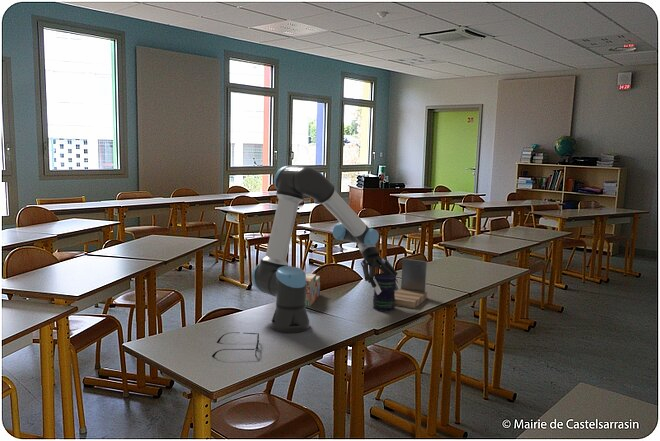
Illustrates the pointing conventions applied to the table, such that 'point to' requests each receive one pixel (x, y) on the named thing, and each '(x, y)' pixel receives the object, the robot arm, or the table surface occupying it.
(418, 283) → the bookend
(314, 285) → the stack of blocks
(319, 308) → the table surface
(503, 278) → the table surface
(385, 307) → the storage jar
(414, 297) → the slatted wooden block
